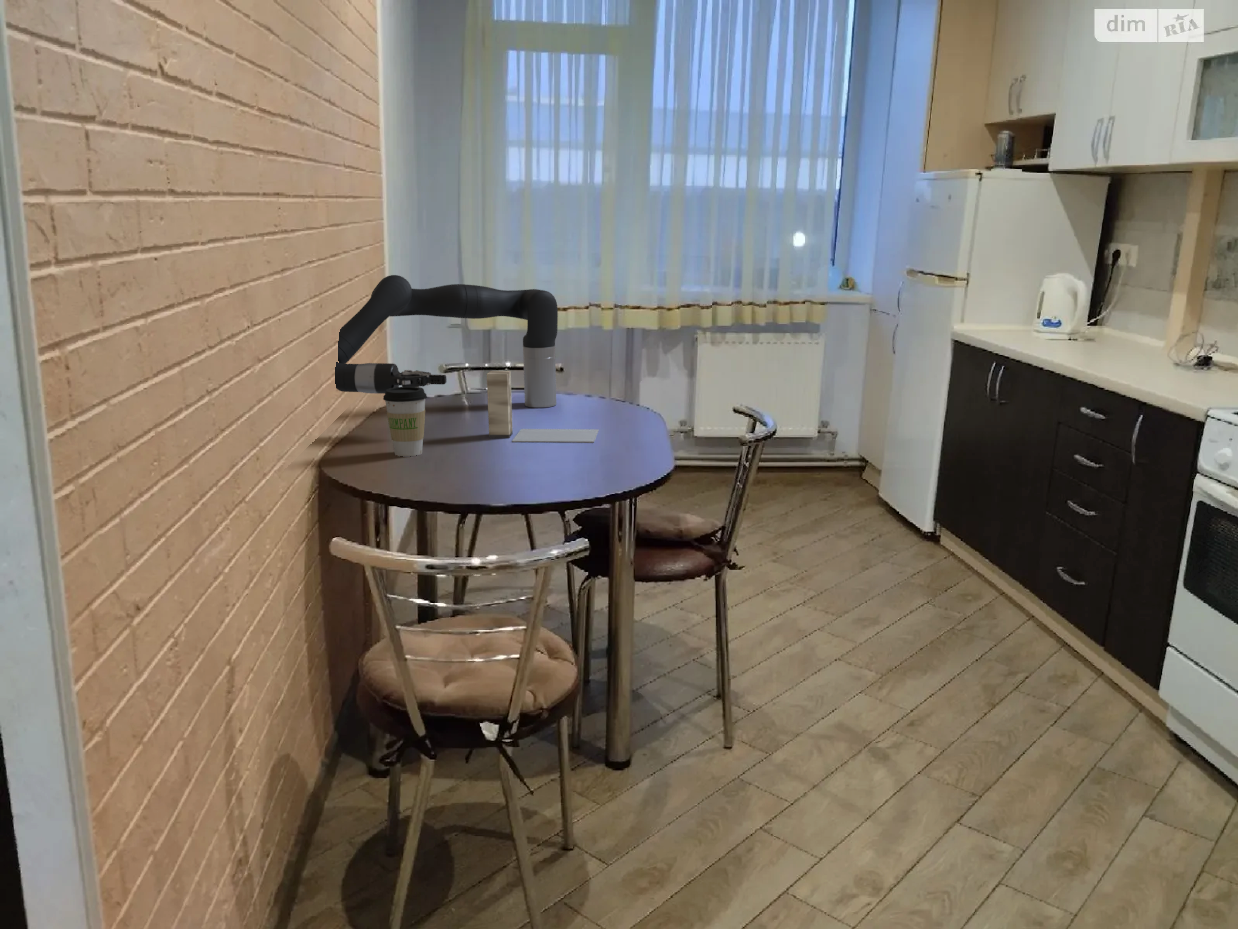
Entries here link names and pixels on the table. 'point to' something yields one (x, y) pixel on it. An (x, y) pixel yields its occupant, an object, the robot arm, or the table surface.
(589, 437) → the grey mat
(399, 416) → the coffee cup
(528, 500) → the table surface
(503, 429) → the birch block
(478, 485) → the table surface
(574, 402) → the table surface
